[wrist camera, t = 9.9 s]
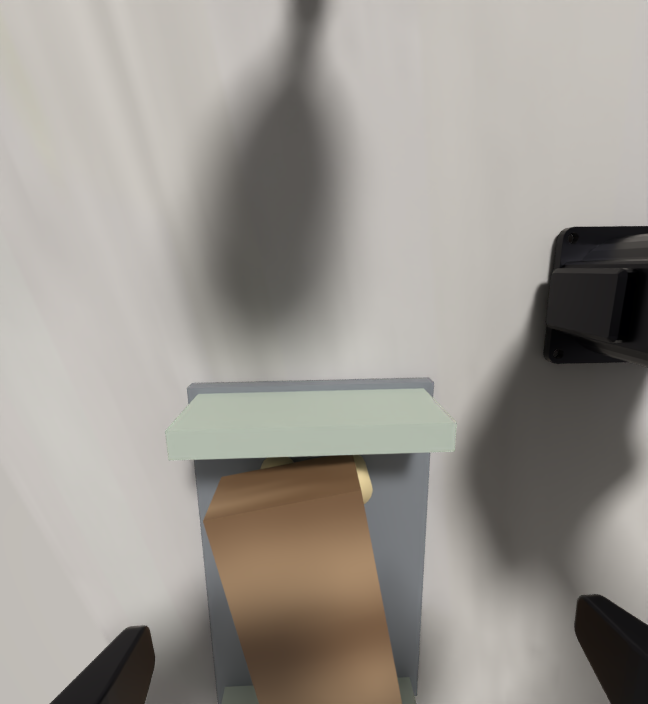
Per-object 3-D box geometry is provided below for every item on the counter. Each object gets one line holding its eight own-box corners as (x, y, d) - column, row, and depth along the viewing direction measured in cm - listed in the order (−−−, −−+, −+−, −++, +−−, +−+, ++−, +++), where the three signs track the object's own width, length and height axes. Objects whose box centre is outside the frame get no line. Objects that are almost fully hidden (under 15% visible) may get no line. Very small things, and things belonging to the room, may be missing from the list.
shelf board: (397, 686, 20) (412, 758, 17) (287, 707, 20) (283, 783, 17) (351, 451, 17) (361, 490, 14) (221, 476, 17) (202, 521, 14)
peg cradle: (428, 377, 19) (470, 415, 14) (413, 681, 23) (440, 790, 19) (192, 383, 19) (150, 423, 14) (221, 692, 23) (197, 806, 18)
